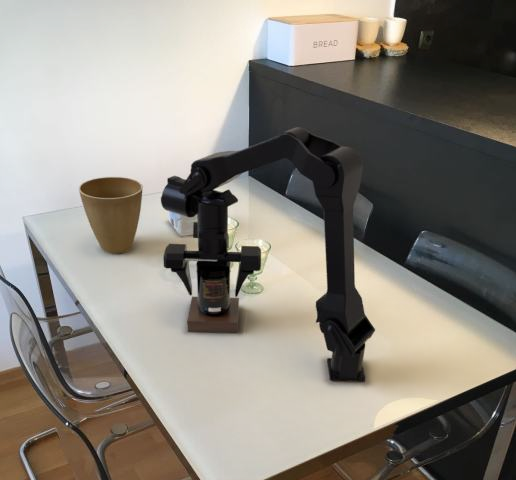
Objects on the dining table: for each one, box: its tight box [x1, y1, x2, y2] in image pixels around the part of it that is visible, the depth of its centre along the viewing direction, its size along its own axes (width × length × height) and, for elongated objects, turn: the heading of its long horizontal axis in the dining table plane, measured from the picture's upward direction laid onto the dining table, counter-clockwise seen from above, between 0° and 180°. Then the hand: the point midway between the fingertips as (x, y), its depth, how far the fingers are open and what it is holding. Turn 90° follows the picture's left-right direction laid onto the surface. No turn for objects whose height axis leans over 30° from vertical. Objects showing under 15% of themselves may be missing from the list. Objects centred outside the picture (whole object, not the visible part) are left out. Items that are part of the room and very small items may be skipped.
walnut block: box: [186, 296, 240, 334], centre depth 124 cm, size 10×10×2 cm
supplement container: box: [195, 261, 231, 316], centre depth 120 cm, size 7×7×10 cm
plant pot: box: [78, 176, 144, 255], centre depth 147 cm, size 15×15×16 cm
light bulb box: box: [168, 211, 198, 237], centre depth 160 cm, size 11×7×11 cm, turn 25°
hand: (213, 295), depth 121 cm, fingers open, 9 cm apart
